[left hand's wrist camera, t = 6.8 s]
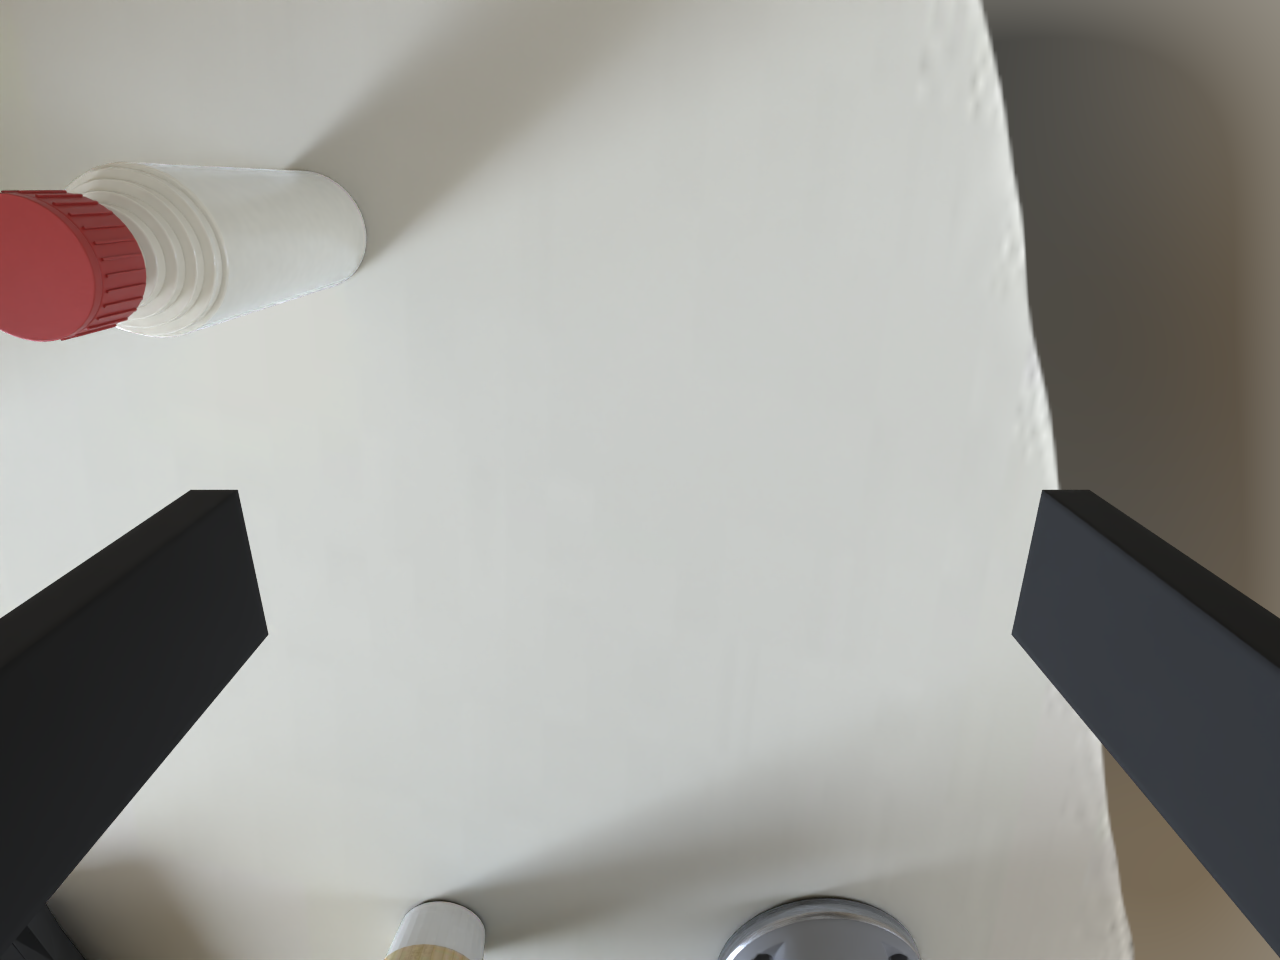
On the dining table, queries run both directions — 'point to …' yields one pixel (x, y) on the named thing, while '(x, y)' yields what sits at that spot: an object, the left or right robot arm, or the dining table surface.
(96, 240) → the cap
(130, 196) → the bottle
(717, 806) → the dining table surface
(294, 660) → the dining table surface
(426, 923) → the coffee cup
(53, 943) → the electronic device
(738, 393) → the dining table surface
